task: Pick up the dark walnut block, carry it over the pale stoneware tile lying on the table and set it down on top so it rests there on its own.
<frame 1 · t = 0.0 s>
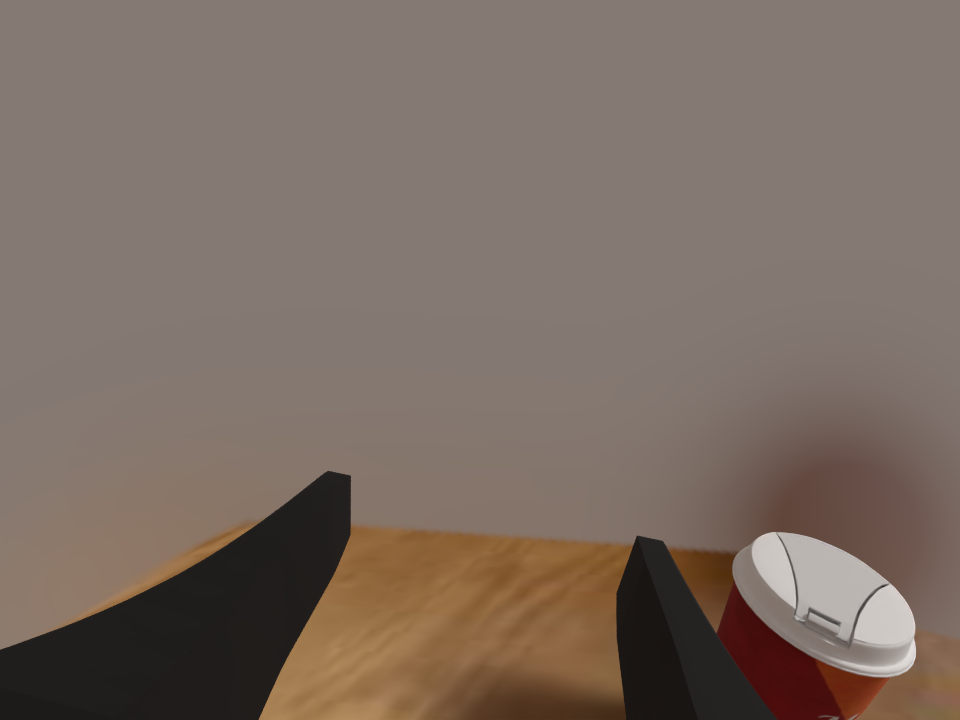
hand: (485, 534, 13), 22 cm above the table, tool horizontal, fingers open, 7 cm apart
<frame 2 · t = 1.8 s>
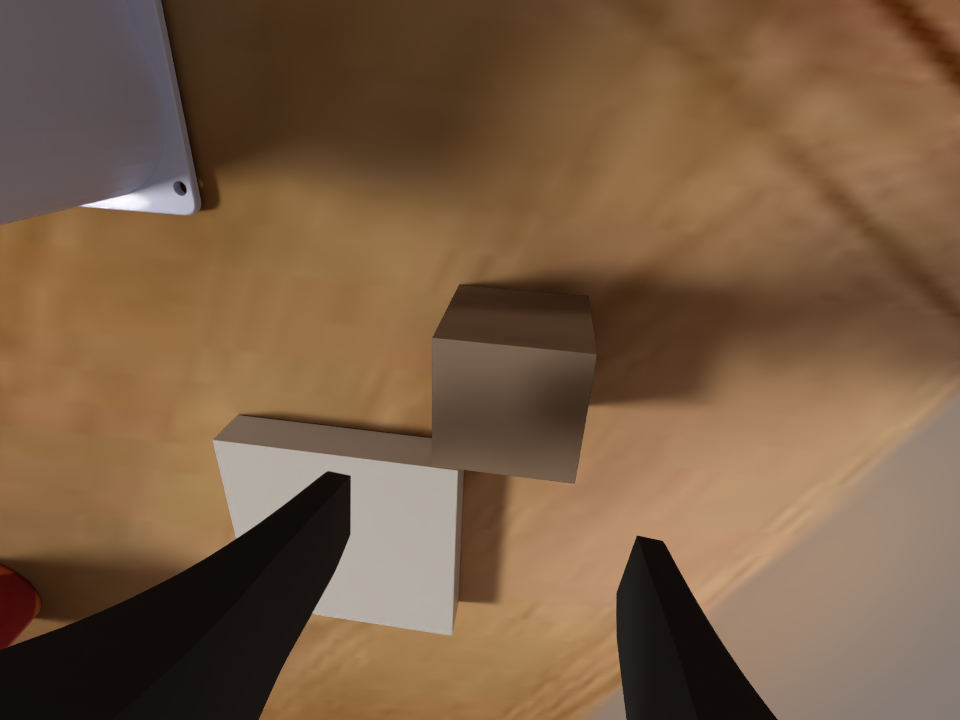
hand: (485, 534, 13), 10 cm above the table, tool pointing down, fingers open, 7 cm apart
walnut block: (518, 347, 21), on the table
paper cup: (4, 587, 34), on the table
stoneware tile: (356, 515, 27), on the table
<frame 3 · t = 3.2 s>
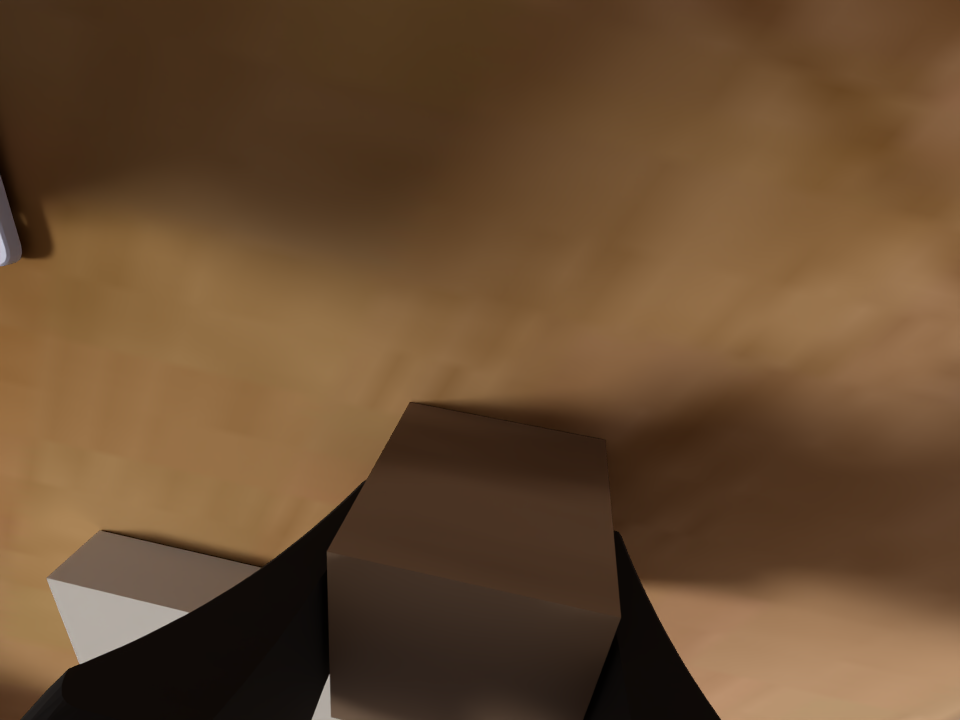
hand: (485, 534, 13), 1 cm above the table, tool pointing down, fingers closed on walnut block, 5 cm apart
walnut block: (493, 496, 14), on the table, touching gripper
stoneware tile: (263, 666, 20), on the table
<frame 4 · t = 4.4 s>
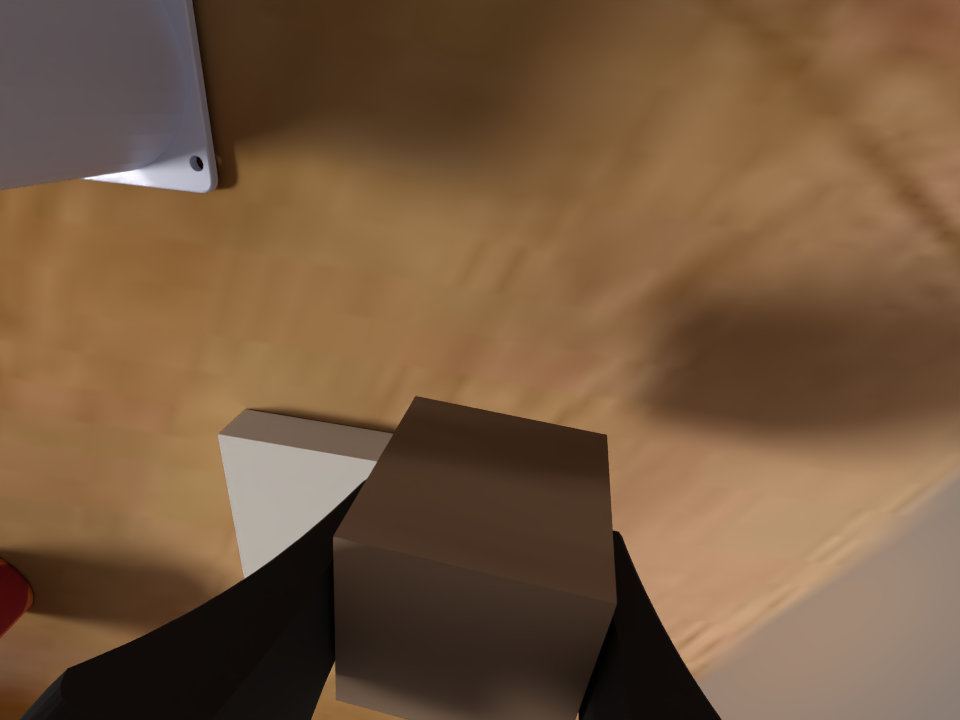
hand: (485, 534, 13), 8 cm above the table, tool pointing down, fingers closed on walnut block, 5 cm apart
walnut block: (496, 489, 14), point 7 cm above the table, touching gripper
stoneware tile: (364, 521, 25), on the table
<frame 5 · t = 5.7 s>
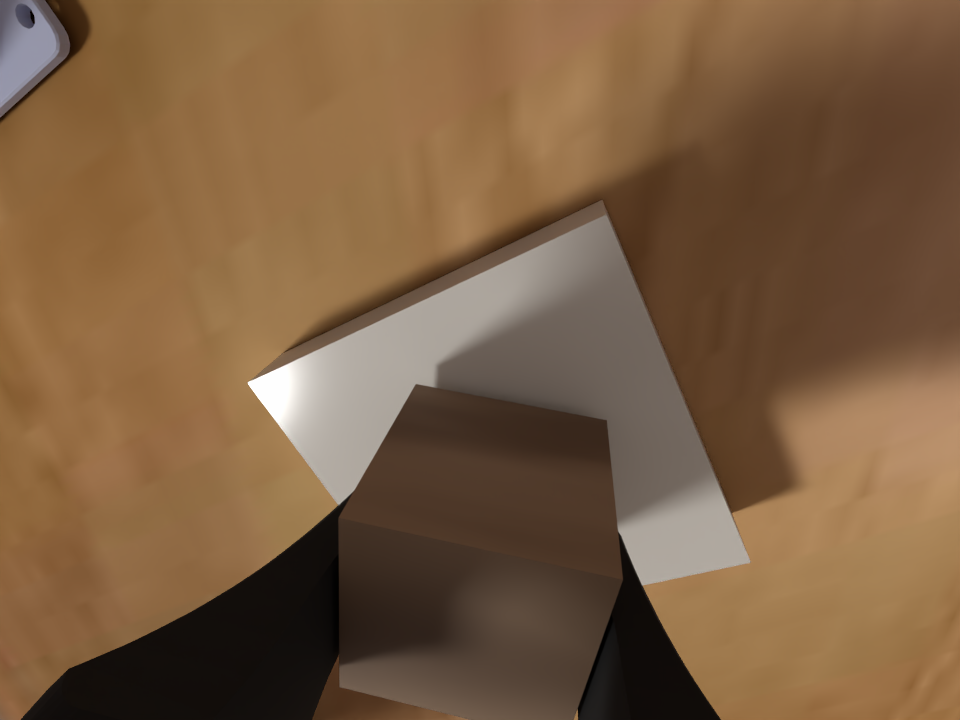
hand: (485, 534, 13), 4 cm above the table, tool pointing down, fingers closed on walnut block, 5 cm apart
walnut block: (496, 477, 14), point 3 cm above the table, touching gripper
stoneware tile: (506, 433, 17), on the table
when the fingers open (4 cm above the table, at t = 6.2 s): walnut block stays where it is, resting on stoneware tile.
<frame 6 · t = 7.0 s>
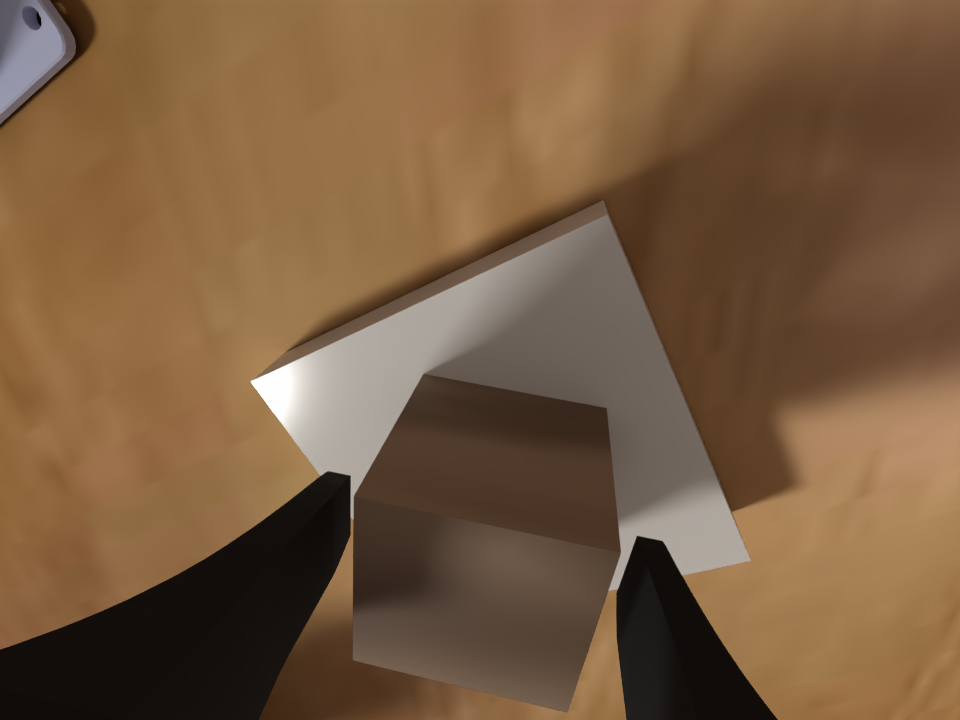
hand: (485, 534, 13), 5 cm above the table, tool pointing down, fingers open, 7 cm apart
walnut block: (500, 464, 15), point 2 cm above the table, touching stoneware tile
stoneware tile: (507, 432, 17), on the table
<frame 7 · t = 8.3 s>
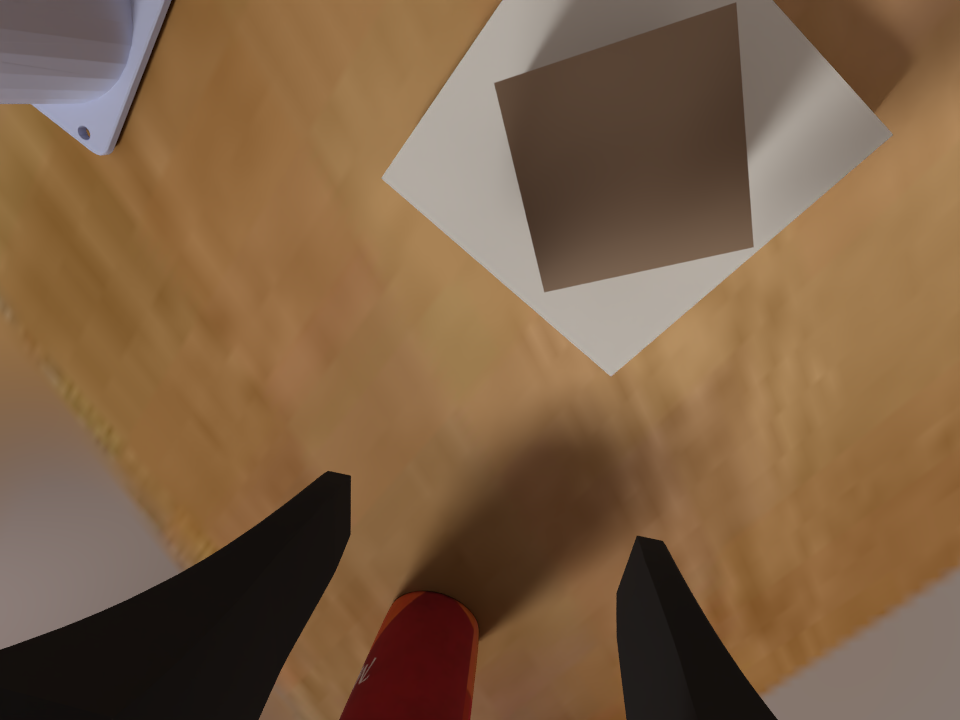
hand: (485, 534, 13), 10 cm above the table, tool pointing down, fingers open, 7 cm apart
walnut block: (613, 150, 16), point 2 cm above the table, touching stoneware tile
paper cup: (434, 621, 31), on the table
stoneware tile: (610, 153, 18), on the table
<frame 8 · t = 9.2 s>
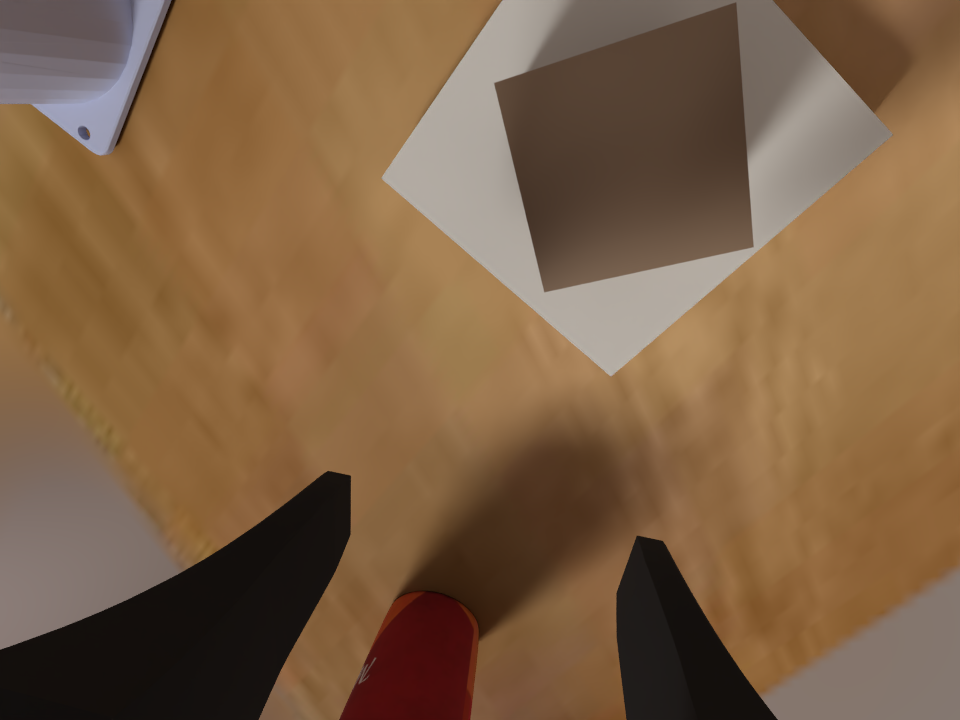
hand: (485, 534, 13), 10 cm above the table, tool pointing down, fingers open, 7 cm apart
walnut block: (613, 150, 16), point 2 cm above the table, touching stoneware tile
paper cup: (434, 621, 31), on the table
stoneware tile: (610, 153, 18), on the table
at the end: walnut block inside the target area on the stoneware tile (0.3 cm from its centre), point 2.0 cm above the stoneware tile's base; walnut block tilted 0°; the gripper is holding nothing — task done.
